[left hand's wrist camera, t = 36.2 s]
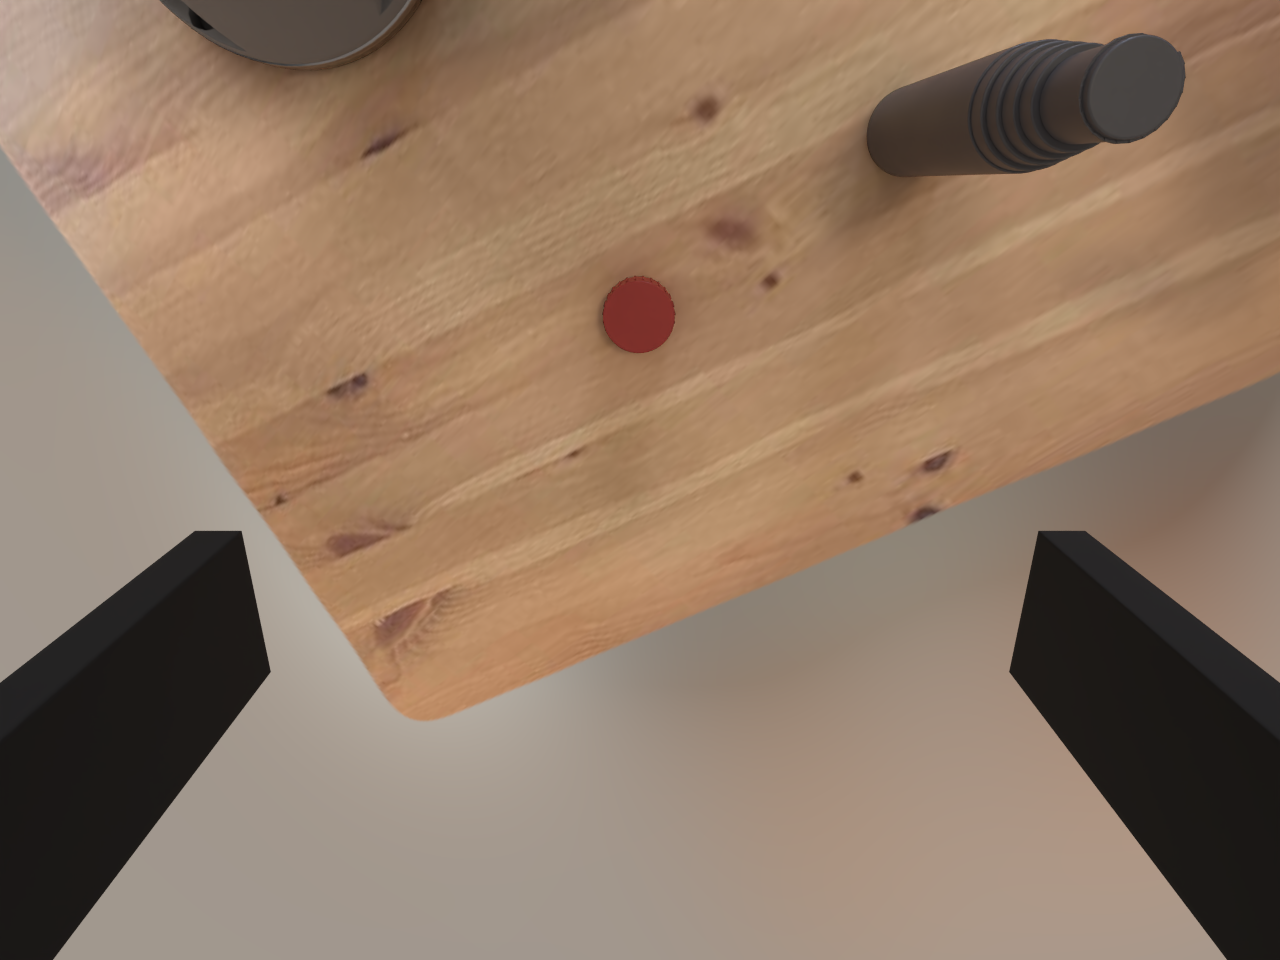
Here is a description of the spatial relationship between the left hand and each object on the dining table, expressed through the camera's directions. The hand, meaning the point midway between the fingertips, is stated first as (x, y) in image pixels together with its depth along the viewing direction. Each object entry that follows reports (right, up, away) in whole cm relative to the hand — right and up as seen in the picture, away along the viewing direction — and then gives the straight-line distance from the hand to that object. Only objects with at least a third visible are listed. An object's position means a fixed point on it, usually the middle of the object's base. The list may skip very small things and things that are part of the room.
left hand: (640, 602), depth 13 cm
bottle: (+14, +20, +27) cm, 36 cm away
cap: (0, +11, +28) cm, 31 cm away
